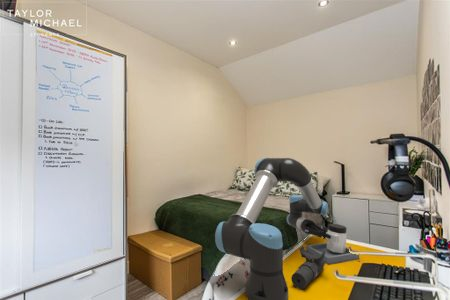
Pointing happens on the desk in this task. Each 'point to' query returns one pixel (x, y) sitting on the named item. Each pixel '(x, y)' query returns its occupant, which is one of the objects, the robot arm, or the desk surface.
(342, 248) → the jar
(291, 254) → the desk surface
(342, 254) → the tray
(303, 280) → the laser sight
